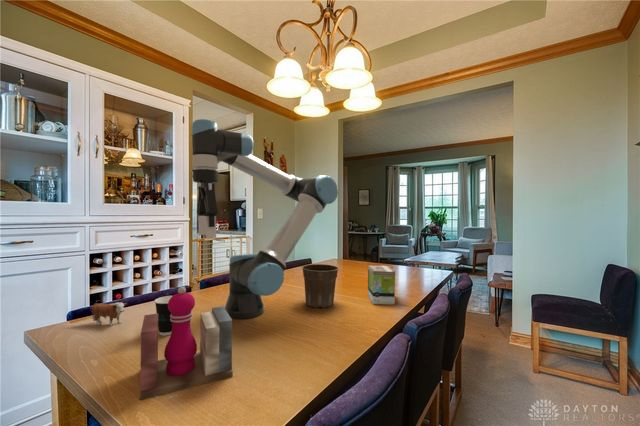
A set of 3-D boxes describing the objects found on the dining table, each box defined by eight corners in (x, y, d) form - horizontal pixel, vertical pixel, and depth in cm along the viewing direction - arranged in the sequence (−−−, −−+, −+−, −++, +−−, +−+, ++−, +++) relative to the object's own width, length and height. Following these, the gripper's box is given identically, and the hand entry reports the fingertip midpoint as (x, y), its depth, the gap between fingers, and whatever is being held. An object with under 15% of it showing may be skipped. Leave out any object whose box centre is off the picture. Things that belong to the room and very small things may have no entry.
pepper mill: (158, 377, 67) (159, 290, 67) (171, 361, 74) (172, 283, 74) (190, 376, 67) (191, 290, 67) (200, 360, 74) (201, 283, 75)
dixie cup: (152, 339, 90) (152, 303, 90) (155, 329, 97) (155, 297, 97) (180, 335, 93) (181, 301, 93) (181, 326, 100) (182, 294, 100)
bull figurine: (120, 328, 98) (120, 304, 98) (87, 325, 101) (88, 301, 101) (131, 323, 102) (131, 300, 102) (99, 320, 105) (99, 298, 105)
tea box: (395, 304, 126) (395, 271, 126) (372, 304, 126) (372, 270, 126) (387, 295, 141) (388, 265, 141) (367, 295, 141) (367, 264, 141)
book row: (222, 351, 82) (222, 303, 82) (232, 376, 70) (233, 319, 70) (144, 368, 73) (144, 313, 73) (139, 399, 61) (140, 334, 61)
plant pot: (345, 302, 129) (345, 266, 129) (326, 312, 115) (326, 272, 115) (314, 296, 138) (315, 262, 138) (294, 305, 124) (294, 267, 124)
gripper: (227, 165, 84) (228, 238, 84) (210, 174, 105) (211, 233, 105) (199, 163, 80) (201, 240, 80) (187, 173, 101) (188, 234, 101)
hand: (207, 236), depth 93 cm, fingers open, 13 cm apart
